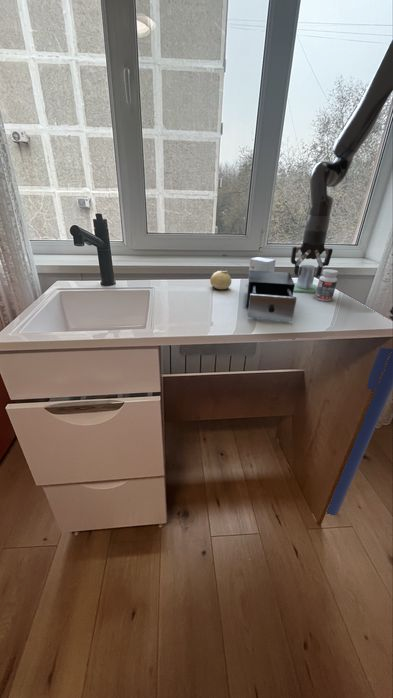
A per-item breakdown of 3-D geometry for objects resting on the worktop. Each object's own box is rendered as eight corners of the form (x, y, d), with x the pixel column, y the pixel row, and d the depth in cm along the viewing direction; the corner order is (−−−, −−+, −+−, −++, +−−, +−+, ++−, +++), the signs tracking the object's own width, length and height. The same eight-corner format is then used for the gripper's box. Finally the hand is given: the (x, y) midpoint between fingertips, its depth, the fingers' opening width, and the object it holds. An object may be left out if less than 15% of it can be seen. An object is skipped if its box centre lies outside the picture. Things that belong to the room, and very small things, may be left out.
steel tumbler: (310, 285, 113) (314, 264, 109) (312, 289, 108) (317, 268, 104) (295, 284, 114) (299, 264, 110) (297, 288, 109) (301, 267, 105)
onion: (213, 291, 105) (214, 272, 102) (207, 285, 112) (208, 267, 109) (233, 290, 107) (235, 271, 104) (226, 284, 114) (228, 266, 110)
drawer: (292, 323, 79) (297, 299, 76) (247, 319, 81) (250, 296, 78) (287, 305, 92) (290, 284, 89) (248, 302, 94) (250, 281, 90)
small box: (272, 287, 112) (276, 259, 107) (264, 290, 108) (268, 261, 103) (255, 283, 117) (258, 256, 112) (247, 285, 113) (250, 258, 108)
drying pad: (314, 286, 115) (315, 284, 114) (319, 293, 106) (320, 292, 106) (289, 284, 116) (289, 282, 116) (292, 291, 108) (292, 290, 107)
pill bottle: (320, 302, 98) (327, 273, 93) (311, 296, 103) (317, 268, 98) (335, 301, 99) (343, 272, 94) (325, 295, 104) (332, 268, 99)
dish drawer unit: (289, 311, 90) (294, 284, 85) (246, 308, 92) (248, 281, 87) (285, 296, 102) (289, 272, 98) (246, 293, 104) (249, 270, 100)
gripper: (296, 229, 98) (288, 277, 107) (340, 231, 96) (328, 279, 104) (293, 227, 105) (286, 272, 113) (335, 228, 103) (324, 274, 111)
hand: (306, 275), depth 109 cm, fingers open, 7 cm apart
